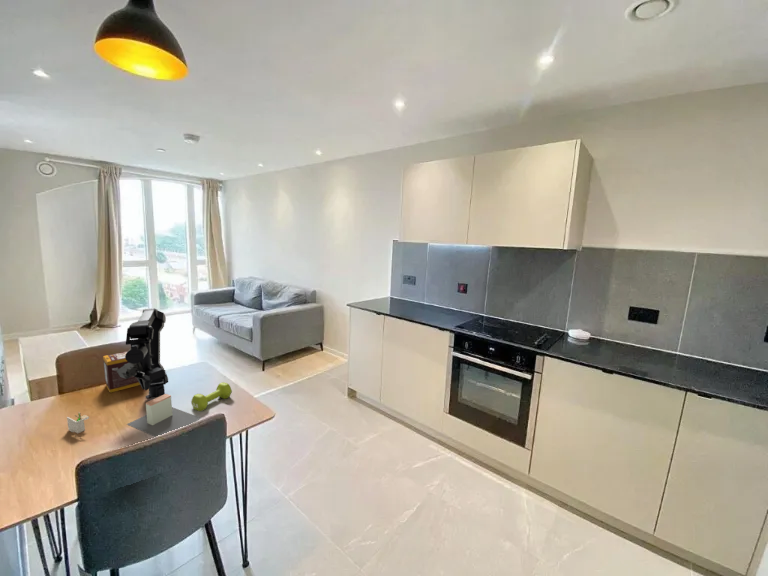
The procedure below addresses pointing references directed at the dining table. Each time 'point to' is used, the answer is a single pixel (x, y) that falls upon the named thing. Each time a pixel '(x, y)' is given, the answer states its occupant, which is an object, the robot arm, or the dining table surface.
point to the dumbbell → (211, 396)
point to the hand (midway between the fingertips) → (145, 389)
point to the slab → (158, 409)
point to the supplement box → (112, 376)
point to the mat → (165, 423)
